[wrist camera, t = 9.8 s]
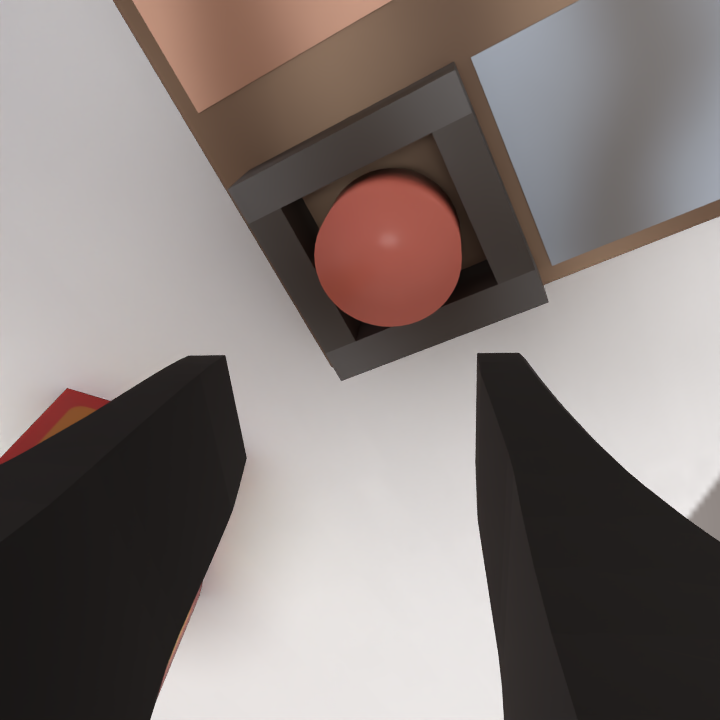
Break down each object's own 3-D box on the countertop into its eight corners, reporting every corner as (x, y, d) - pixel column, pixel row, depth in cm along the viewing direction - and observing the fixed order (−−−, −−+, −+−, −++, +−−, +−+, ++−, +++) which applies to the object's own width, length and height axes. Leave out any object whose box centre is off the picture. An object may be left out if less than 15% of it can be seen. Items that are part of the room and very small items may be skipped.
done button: (363, 315, 18) (355, 345, 17) (302, 204, 17) (287, 225, 15) (481, 267, 17) (484, 295, 16) (426, 143, 16) (424, 160, 14)
